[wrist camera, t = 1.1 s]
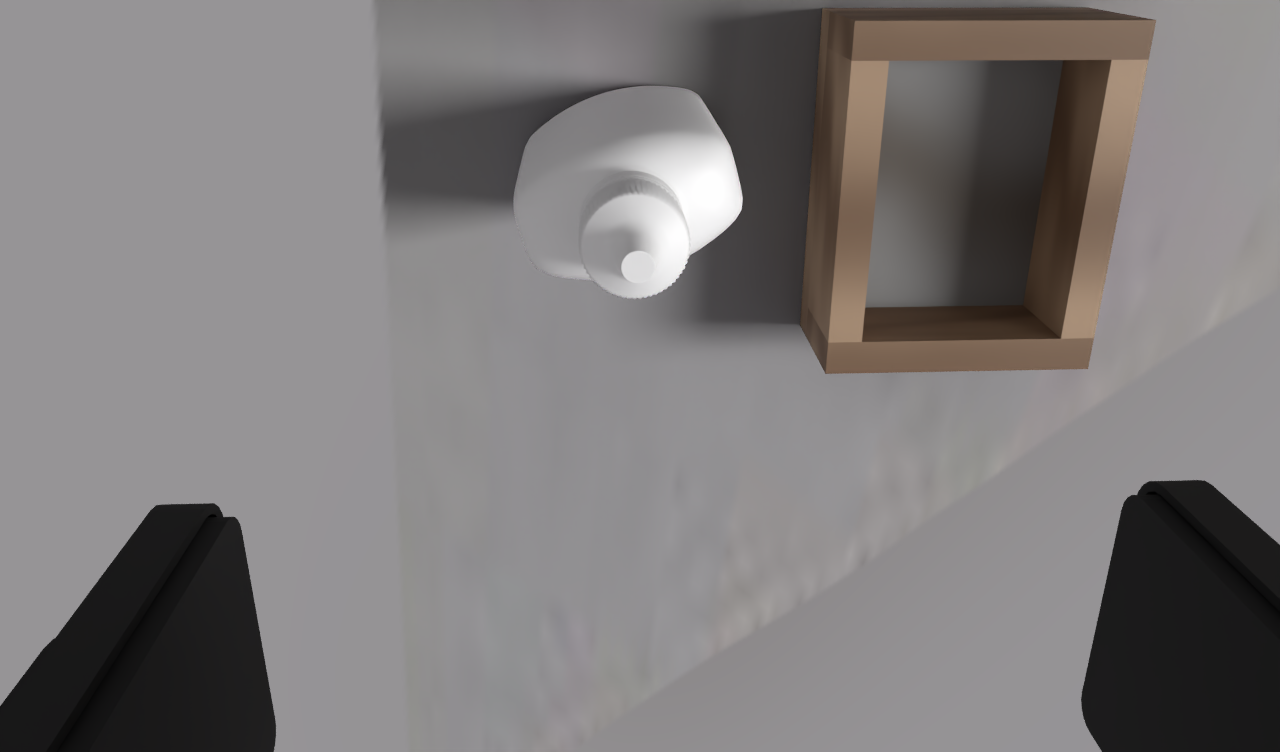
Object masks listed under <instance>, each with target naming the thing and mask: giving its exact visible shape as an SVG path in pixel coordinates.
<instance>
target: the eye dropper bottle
mask: <svg viewBox="0 0 1280 752" xmlns="http://www.w3.org/2000/svg"><path fill="white" fill-rule="evenodd" d="M742 202H743V197H742V191H741V186H740V181H739V177H738V173H737V169H736V165H735V161H734V157H733V154H732V151H731V147H730V145H729V143H728V141H727V140H726V138H725V136H724V134H723V133H722V131H721V129H720V128H719V126H718V125H717V123H716V121H715V120H714V118H713V116H712V115H711V113H710V112H709V110H708V108H707V107H706V105H705V104H704V102H703V101H702V99H701V97H700V96H699V95H698V94H697V93H695V92H693V91H691V90H689V89H684V88H679V87H670V86H637V87H629V88H622V89H617V90H613V91H609V92H605V93H602V94H599V95H596V96H593V97H591V98H588V99H586V100H583V101H581V102H579V103H577V104H575V105H573V106H571V107H569V108H567V109H566V110H564V111H562V112H561V113H559V114H558V115H556V116H555V117H553V118H552V119H551V120H549V121H548V122H546V123H545V124H544V125H543V126H541V127H540V128H539V129H538V130H537V131H536V132H535V133H534V134H533V135H532V136H531V137H530V138H529V140H528V142H527V144H526V146H525V149H524V153H523V157H522V161H521V165H520V169H519V173H518V178H517V182H516V186H515V192H514V199H513V208H514V216H515V219H516V223H517V227H518V230H519V233H520V236H521V239H522V241H523V244H524V247H525V250H526V252H527V255H528V257H529V259H530V261H531V262H532V264H533V265H534V266H535V268H536V269H538V270H540V271H542V272H544V273H546V274H548V275H552V276H557V277H562V278H569V279H579V280H593V282H594V283H597V286H599V287H602V290H606V291H607V293H609V292H611V294H612V295H616V296H617V297H619V296H621V297H622V298H625V297H627V298H628V299H630V298H633V299H636V298H639V299H641V298H642V297H644V298H647V297H648V296H650V297H652V295H653V294H655V295H657V294H658V292H662V291H663V290H664V289H667V287H668V286H672V283H674V282H676V279H677V278H679V275H680V274H682V273H683V272H682V270H683V269H685V264H687V263H688V262H687V259H688V258H689V255H691V254H693V253H695V252H696V251H698V250H699V249H701V248H702V247H704V246H705V245H707V244H708V243H709V242H711V241H712V240H713V239H715V238H716V237H717V236H719V235H720V234H721V233H722V232H723V231H725V230H726V229H727V228H728V227H729V226H730V225H731V224H732V223H733V222H734V221H735V220H736V218H737V217H738V215H739V213H740V212H741V210H742Z"/></svg>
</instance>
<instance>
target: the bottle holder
mask: <svg viewBox="0 0 1280 752" xmlns="http://www.w3.org/2000/svg"><path fill="white" fill-rule="evenodd" d="M1155 23H1156V20H1152V19H1147V18H1142V17H1136V16H1131V15H1125V14H1120V13H1114V12H1109V11H1103V10H1098V9H1092V8H822V20H821V34H820V48H819V62H818V77H817V91H816V105H815V119H814V134H813V148H812V162H811V176H810V191H809V205H808V219H807V233H806V248H805V262H804V276H803V290H802V305H801V319H800V326H801V328H802V330H803V332H804V334H805V335H806V337H807V339H808V341H809V343H810V345H811V347H812V349H813V351H814V352H815V354H816V356H817V358H818V360H819V362H820V364H821V366H822V368H823V370H824V371H825V373H826V374H833V373H888V372H942V371H997V370H1051V369H1088V365H1089V360H1090V355H1091V350H1092V345H1093V340H1094V335H1095V330H1096V324H1097V319H1098V314H1099V309H1100V304H1101V299H1102V294H1103V289H1104V284H1105V279H1106V273H1107V268H1108V263H1109V258H1110V253H1111V248H1112V243H1113V238H1114V233H1115V228H1116V222H1117V217H1118V212H1119V207H1120V202H1121V197H1122V192H1123V187H1124V182H1125V176H1126V171H1127V166H1128V161H1129V156H1130V151H1131V146H1132V141H1133V136H1134V131H1135V125H1136V120H1137V115H1138V110H1139V105H1140V100H1141V95H1142V90H1143V85H1144V79H1145V74H1146V69H1147V64H1148V59H1149V54H1150V49H1151V44H1152V39H1153V34H1154V28H1155Z"/></svg>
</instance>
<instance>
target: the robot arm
mask: <svg viewBox="0 0 1280 752" xmlns="http://www.w3.org/2000/svg"><path fill="white" fill-rule="evenodd" d="M1081 702H1082V711H1083V716H1084V720H1085V723H1086V726H1087V728H1088V729H1089V731H1090V733H1091V735H1092V736H1093V738H1094V740H1095V741H1096V743H1097V744H1098V746H1099V747H1100V749H1101V750H1102V752H1280V545H1279V544H1278V543H1277V542H1276V541H1275V540H1273V539H1272V538H1271V537H1270V536H1269V535H1268V534H1267V533H1266V532H1264V531H1263V530H1262V529H1261V528H1260V527H1259V526H1258V525H1257V524H1255V523H1254V522H1253V521H1252V520H1251V519H1250V518H1249V517H1247V516H1246V515H1245V514H1244V513H1243V512H1242V511H1241V510H1240V509H1238V508H1237V507H1236V506H1235V505H1234V504H1232V502H1231V501H1229V500H1228V499H1227V498H1226V497H1225V496H1224V495H1223V494H1221V493H1220V492H1219V491H1218V490H1217V489H1216V488H1215V487H1214V486H1212V485H1211V484H1209V483H1208V482H1206V481H1201V480H1190V481H1189V480H1188V481H1149V482H1147V483H1146V484H1144V485H1143V486H1142V487H1141V489H1140V490H1139V492H1138V494H1137V495H1131V496H1130V497H1128V498H1127V499H1126V501H1125V502H1124V504H1123V507H1122V510H1121V515H1120V520H1119V525H1118V529H1117V534H1116V538H1115V543H1114V548H1113V552H1112V557H1111V561H1110V566H1109V571H1108V575H1107V580H1106V584H1105V589H1104V594H1103V598H1102V603H1101V607H1100V613H1099V617H1098V621H1097V626H1096V630H1095V635H1094V640H1093V644H1092V649H1091V653H1090V658H1089V663H1088V668H1087V672H1086V677H1085V682H1084V686H1083V691H1082V698H1081ZM275 738H276V723H275V716H274V710H273V704H272V699H271V693H270V688H269V682H268V677H267V672H266V665H265V659H264V654H263V648H262V642H261V637H260V631H259V626H258V620H257V614H256V609H255V603H254V598H253V592H252V586H251V580H250V575H249V569H248V564H247V558H246V552H245V547H244V541H243V535H242V530H241V526H240V523H239V522H238V520H237V519H236V518H235V517H223V514H222V512H221V510H220V508H219V507H218V506H217V505H215V504H213V503H212V504H171V505H156V506H155V507H154V508H153V509H152V510H151V511H150V512H149V513H148V515H147V516H146V517H145V519H144V520H143V521H142V523H141V524H140V525H139V527H138V528H137V530H136V531H135V532H134V534H133V535H132V536H131V537H130V539H129V540H128V542H127V543H126V544H125V546H124V547H123V548H122V550H121V551H120V552H119V554H118V555H117V556H116V558H115V559H114V560H113V562H112V563H111V564H110V566H109V567H108V568H107V570H106V571H105V572H104V574H103V575H102V576H101V578H100V579H99V581H98V582H97V583H96V585H95V586H94V587H93V588H92V590H91V591H90V593H89V594H88V595H87V596H86V598H85V599H84V601H83V602H82V603H81V605H80V606H79V607H78V609H77V610H76V611H75V613H74V614H73V615H72V617H71V618H70V620H69V621H68V622H67V623H66V625H65V626H64V627H63V629H62V630H61V631H60V633H59V634H58V636H57V637H56V638H55V639H53V640H52V641H51V642H50V643H49V644H48V645H47V646H46V647H45V648H44V649H43V650H42V652H41V653H40V654H39V655H38V657H37V658H36V659H35V661H34V662H33V663H32V665H31V666H30V667H29V669H28V670H27V672H26V673H25V674H24V675H23V677H22V678H21V679H20V681H19V682H18V683H17V685H16V686H15V687H14V689H13V690H12V691H11V693H10V694H9V695H8V697H7V698H6V699H5V701H4V702H3V703H2V705H1V706H0V752H274V746H275Z"/></svg>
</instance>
